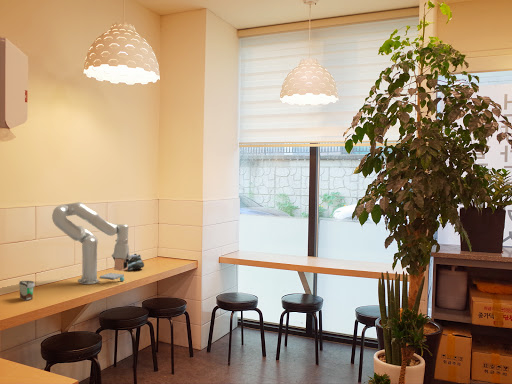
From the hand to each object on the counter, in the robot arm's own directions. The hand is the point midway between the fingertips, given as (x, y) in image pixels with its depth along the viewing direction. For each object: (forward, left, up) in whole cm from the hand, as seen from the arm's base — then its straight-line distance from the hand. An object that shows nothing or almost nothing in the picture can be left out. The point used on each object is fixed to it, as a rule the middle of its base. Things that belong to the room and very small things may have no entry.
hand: (121, 267), depth 328 cm
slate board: (+8, +13, -10) cm, 19 cm away
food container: (-60, +23, -10) cm, 65 cm away
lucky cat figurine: (+36, +14, -10) cm, 40 cm away
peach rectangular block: (0, 0, -2) cm, 2 cm away
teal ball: (0, -1, -10) cm, 10 cm away
